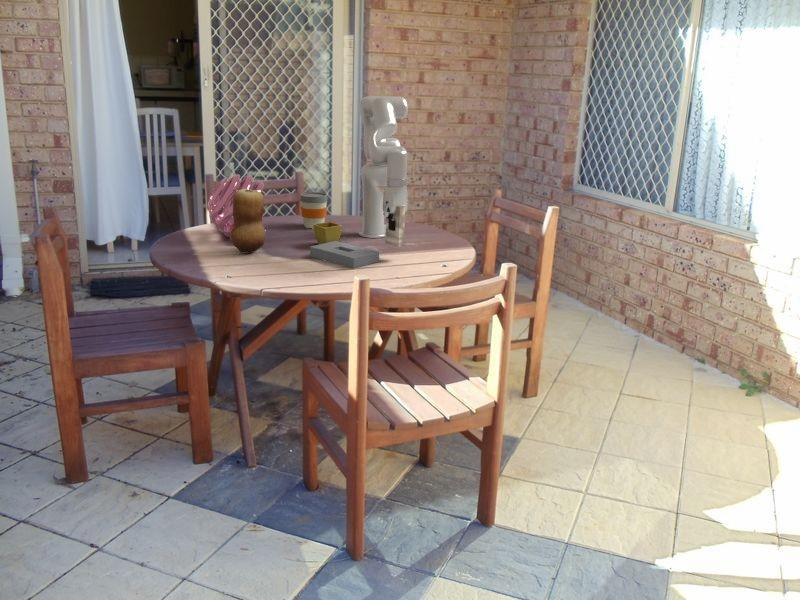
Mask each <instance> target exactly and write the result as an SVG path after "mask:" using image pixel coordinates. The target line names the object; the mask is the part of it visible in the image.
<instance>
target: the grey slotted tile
mask: <svg viewBox="0 0 800 600" xmlns="http://www.w3.org/2000/svg"><path fill="white" fill-rule="evenodd" d="M309 256H310V257H311V258H315V259H318V260H322V261H325V262H328V263H333V264H336V265H339V266H343V267H347V268H350V269H357V268H362V267H365V266H368V265H372V264H376V263H378V262H380V251H378V250H373V249H370V248H366V247H362V246H357V245H354V244H350V243H346V242H341V241H333V242H328V243H324V244H319V243H318V244H316V245H311V246H309Z"/></svg>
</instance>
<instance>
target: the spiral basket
mask: <svg viewBox="0 0 800 600" xmlns="http://www.w3.org/2000/svg"><path fill="white" fill-rule="evenodd" d="M240 178H241V175H240V174H239V173H238V174H233V176H232V177H231V178H230V179H229V178H228V177H224V178H223V179H221V181H220V182H219V183H218V185H217V186H216V188H215V189H214V191H213V193H212V194H209V199H208V202H207V208H208V210H209V215H208V216H209V220H210V221H212V222H213V224H214V225H215V229H216V230H217V231H219V232H222V233H224V236H225V237H227V238H228V237H230V238H229V239H231V232H232V228H233V225H234V219H233V199H234V195H235V193H236V192H237V191H238V190H241V189H251V190H256V191H259V192H261V193H262V192H263V191H264V187H265V183H264V182H263V181H262V180H257V181H256V182H255V183H254V184H253V186H251V185H252V182H253V180H254V177H253V176H252V175H249V174H247V175H246V176H244V178H243V179H242V180H241V181H240V182H239V180H240ZM228 179H229V181H228ZM227 181H228V182H227ZM238 182H239V183H238ZM237 184H238V185H237ZM250 187H251V188H250ZM219 213H220V214H219ZM225 228H226V229H225ZM264 231H265V232H266V231H267V229H266V227H264Z"/></svg>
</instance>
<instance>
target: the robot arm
mask: <svg viewBox="0 0 800 600" xmlns="http://www.w3.org/2000/svg"><path fill="white" fill-rule="evenodd" d="M358 105H359V107H358V108H359V115H360V118H361V121H362V124H363V144H364V145H363V147H364V148H363V149H364V150H363V151H364V156H365V158H366V159H367V160H370V161H371V163H367V164H364V165H363V166H362V167H361V170H360V176H361V177H360V178H361V183H362V184H361V185H362V230H360V231H359V232H358V235H359V236H361V237H363V238H370V239H379V238H380V239H381V238H384V237H385V238H386V223H385V218H386V217H387V219H388V220H389V224H388V229H389V230H392V231H395V226H396V221H394V220H395V213H396V212H397V208H398V206H400V205H405V213H407V211H408V205H409V204H408V202H409V201H408V198H409V197H408V188H407V181H408V180H407V175H408V174H407V173H408V172H407V171H408V167H407V166H408V152H407V150H406V148H405V147H403V146H402V145H401V143H400V140H399V139H398V138H396V137H391V136H393V135H394V134H396V132H397V131H398V123H397V119H405V118H406V117H407V116H408V113H409V106H408V102H407V100H406V98H404V97H403V96H393V95H392V96H389V95H388V96H386V95H385V96H384V95H383V96H382V95H381V96H380V95H369V96H364V97H362V98H360V101H359V104H358ZM380 186H385V187H384V190H382V189H381V188H380ZM391 214H392V216H391Z"/></svg>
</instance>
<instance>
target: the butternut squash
mask: <svg viewBox="0 0 800 600" xmlns="http://www.w3.org/2000/svg"><path fill="white" fill-rule="evenodd" d="M264 208H265V199H264V195H263V193H262V192H259V191H256V190H251V188H249V189H241V190H238V191H237V192H236V193H235V195H234V199H233V215H232V217H233V219H234V225H233V228H232V232H231V238H230V240H231V243H232V245H233V246H234V247H235V248H236V249H237V250H238V251H240V252H241V253H242V252H248V253H254V252H257V250H259V249H260V248H262V247H263V246H264V243H265V241H266V231H264V228H265V227H264V225H263V217H264V210H265V209H264Z"/></svg>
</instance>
